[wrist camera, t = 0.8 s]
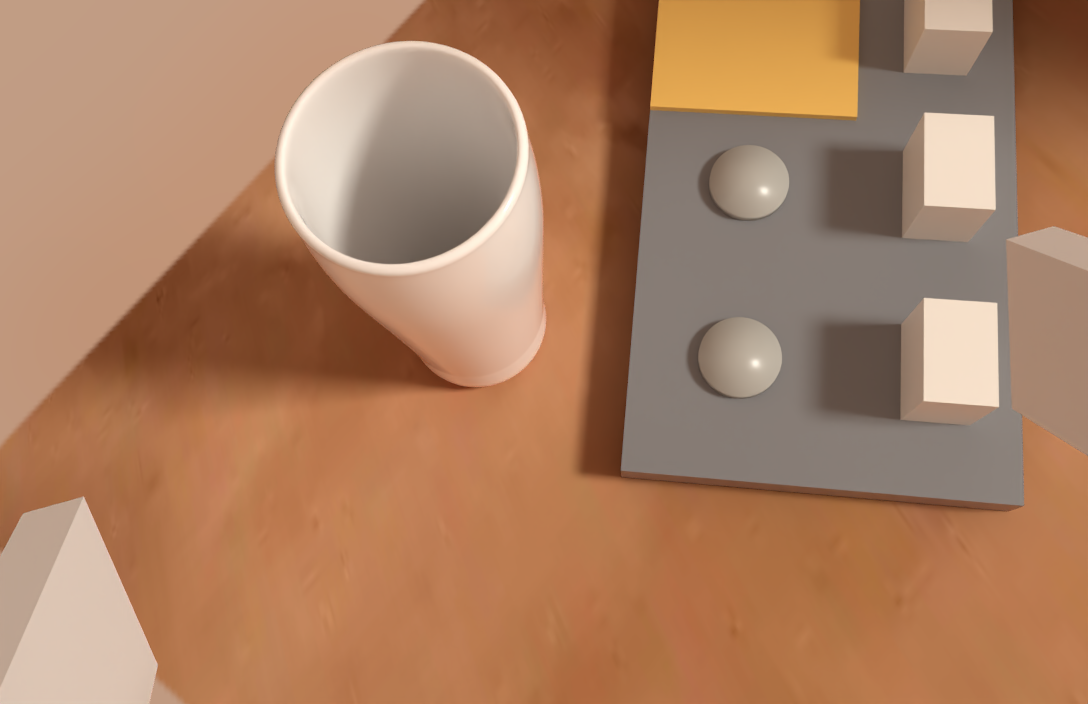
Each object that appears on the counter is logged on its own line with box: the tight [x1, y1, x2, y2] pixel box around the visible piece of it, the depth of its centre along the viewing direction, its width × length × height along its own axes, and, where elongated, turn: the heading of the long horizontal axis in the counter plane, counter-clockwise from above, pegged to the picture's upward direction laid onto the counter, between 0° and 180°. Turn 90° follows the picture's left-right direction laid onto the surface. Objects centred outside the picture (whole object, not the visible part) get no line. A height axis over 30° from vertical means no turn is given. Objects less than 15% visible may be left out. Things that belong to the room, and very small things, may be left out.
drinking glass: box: [275, 41, 546, 387], centre depth 33 cm, size 7×7×15 cm
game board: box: [621, 0, 1024, 511], centre depth 39 cm, size 14×23×4 cm, turn 174°
